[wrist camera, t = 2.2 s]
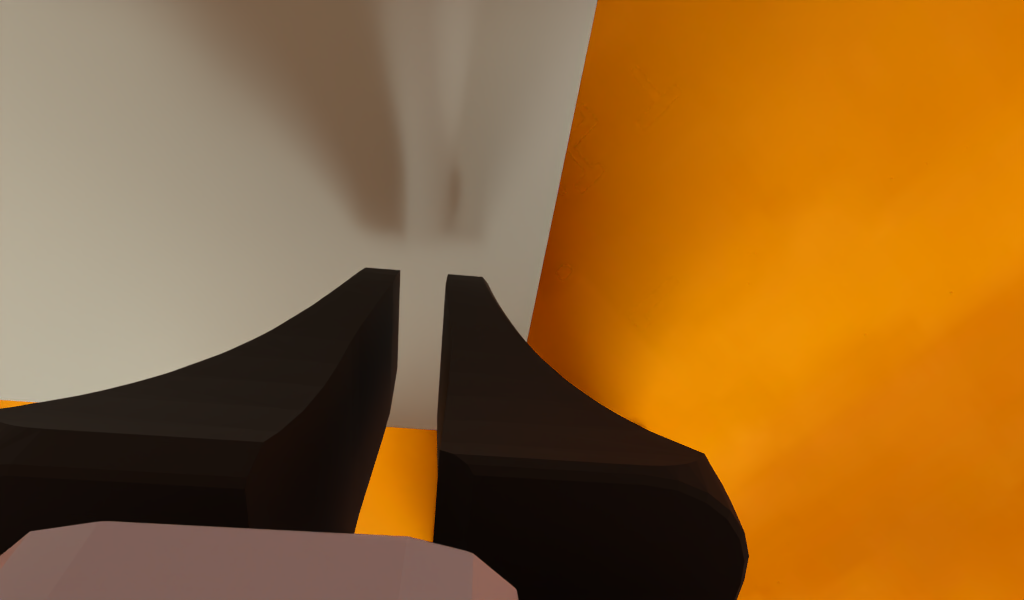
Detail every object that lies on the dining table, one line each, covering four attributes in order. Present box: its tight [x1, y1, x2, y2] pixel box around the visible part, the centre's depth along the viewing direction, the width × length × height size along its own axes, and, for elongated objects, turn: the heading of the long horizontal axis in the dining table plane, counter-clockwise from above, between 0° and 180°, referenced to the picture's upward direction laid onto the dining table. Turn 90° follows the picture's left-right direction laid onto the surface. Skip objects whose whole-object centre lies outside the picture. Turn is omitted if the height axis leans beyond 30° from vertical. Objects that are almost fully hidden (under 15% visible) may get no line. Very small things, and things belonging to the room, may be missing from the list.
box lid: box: [0, 0, 597, 430], centre depth 12 cm, size 17×18×1 cm
